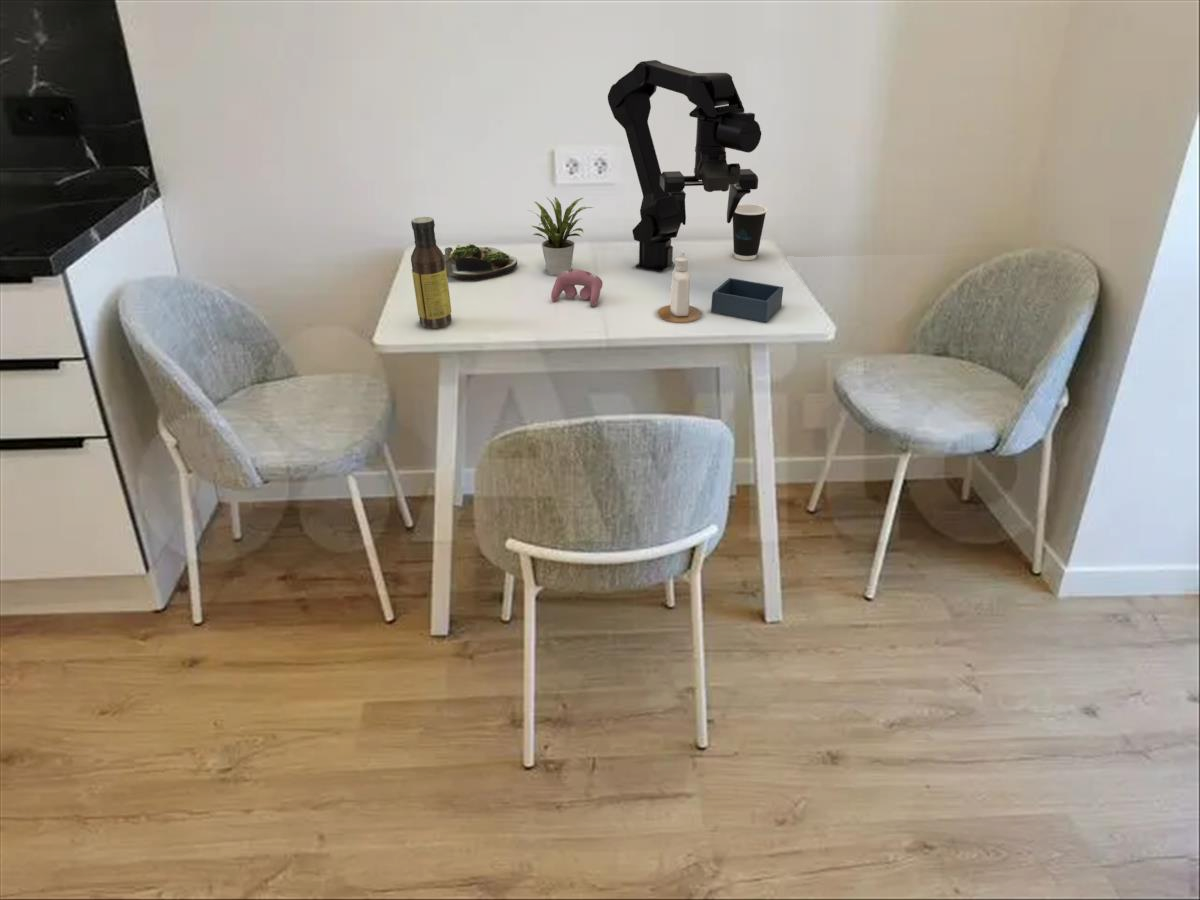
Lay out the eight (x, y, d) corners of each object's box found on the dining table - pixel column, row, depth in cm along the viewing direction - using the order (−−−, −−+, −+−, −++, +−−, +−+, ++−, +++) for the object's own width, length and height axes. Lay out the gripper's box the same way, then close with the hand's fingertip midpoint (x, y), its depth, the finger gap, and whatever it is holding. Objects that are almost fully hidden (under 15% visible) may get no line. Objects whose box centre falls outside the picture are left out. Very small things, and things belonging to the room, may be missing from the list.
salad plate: (415, 262, 199) (412, 242, 196) (485, 247, 207) (483, 228, 205) (454, 286, 185) (452, 265, 183) (527, 270, 194) (526, 249, 191)
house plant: (603, 262, 198) (603, 189, 189) (590, 283, 186) (589, 206, 178) (541, 258, 200) (538, 186, 192) (524, 279, 189) (521, 202, 180)
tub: (710, 312, 172) (712, 292, 170) (728, 297, 179) (729, 277, 177) (765, 322, 168) (767, 302, 165) (781, 306, 175) (783, 286, 172)
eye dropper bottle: (664, 315, 170) (666, 254, 164) (673, 305, 174) (675, 246, 168) (685, 318, 168) (688, 257, 162) (694, 308, 173) (697, 248, 167)
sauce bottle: (458, 320, 169) (449, 217, 159) (440, 331, 164) (429, 226, 154) (430, 314, 172) (419, 212, 161) (411, 326, 167) (398, 221, 157)
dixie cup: (731, 262, 197) (735, 214, 192) (724, 251, 204) (728, 204, 199) (766, 261, 198) (771, 213, 192) (758, 250, 205) (762, 203, 199)
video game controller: (601, 308, 178) (606, 273, 177) (594, 306, 174) (599, 270, 173) (555, 303, 181) (560, 268, 180) (548, 300, 177) (553, 265, 176)
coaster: (650, 317, 170) (650, 315, 170) (668, 303, 176) (668, 301, 176) (690, 325, 166) (690, 323, 166) (707, 311, 173) (707, 309, 173)
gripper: (671, 154, 163) (668, 237, 171) (769, 151, 165) (761, 233, 173) (660, 141, 173) (658, 221, 180) (753, 139, 174) (747, 217, 182)
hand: (706, 223), depth 179 cm, fingers open, 9 cm apart
